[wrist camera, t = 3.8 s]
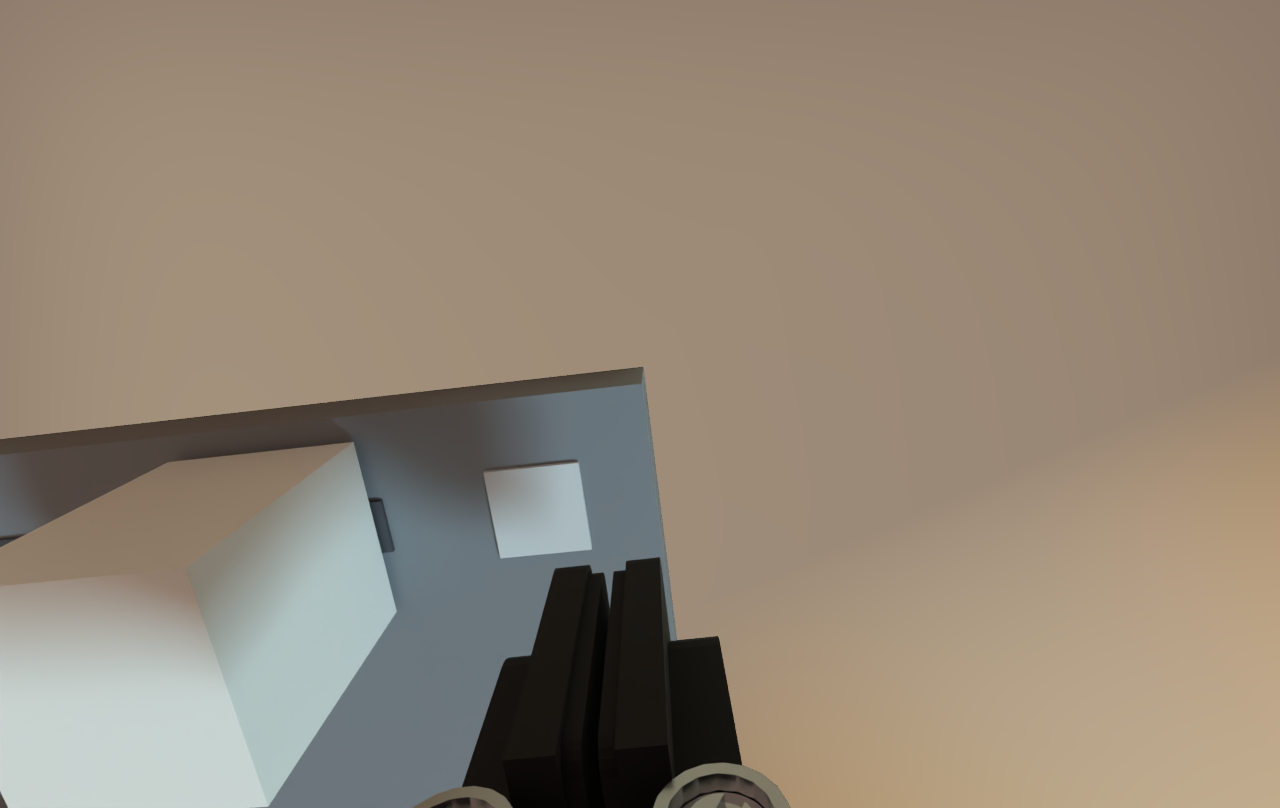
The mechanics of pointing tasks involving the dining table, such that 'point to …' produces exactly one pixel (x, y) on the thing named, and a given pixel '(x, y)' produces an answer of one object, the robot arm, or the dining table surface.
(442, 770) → the switch panel
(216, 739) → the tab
